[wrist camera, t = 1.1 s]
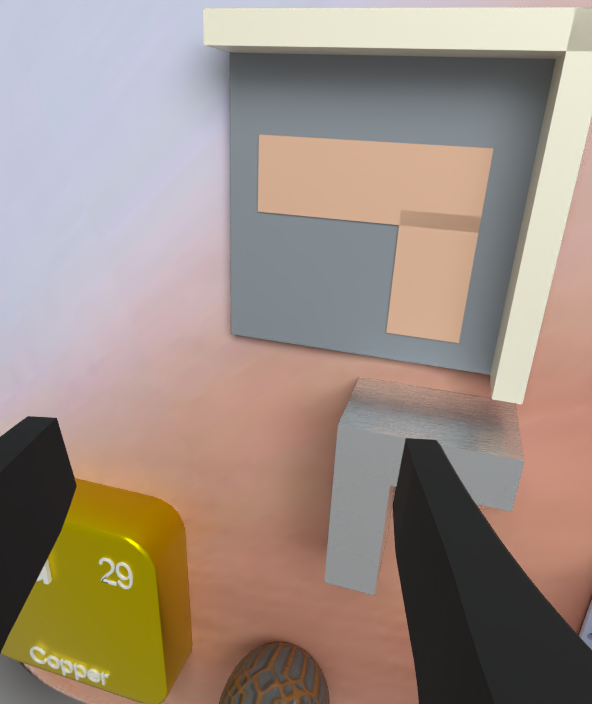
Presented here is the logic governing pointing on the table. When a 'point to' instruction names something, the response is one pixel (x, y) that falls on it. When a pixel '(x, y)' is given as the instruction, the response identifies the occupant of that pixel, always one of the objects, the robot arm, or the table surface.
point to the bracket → (385, 459)
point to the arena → (403, 177)
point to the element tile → (111, 597)
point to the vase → (276, 678)
